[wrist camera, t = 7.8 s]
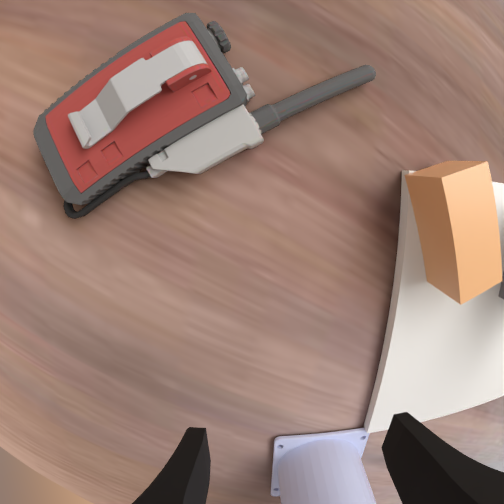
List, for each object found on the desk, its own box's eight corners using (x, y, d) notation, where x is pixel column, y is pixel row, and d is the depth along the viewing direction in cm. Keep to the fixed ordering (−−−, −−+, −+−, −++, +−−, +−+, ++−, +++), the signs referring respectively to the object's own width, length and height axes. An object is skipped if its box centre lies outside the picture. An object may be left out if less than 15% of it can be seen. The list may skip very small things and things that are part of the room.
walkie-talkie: (96, 243, 19) (374, 91, 17) (62, 262, 15) (406, 73, 12) (42, 134, 17) (303, -16, 15) (1, 130, 13) (315, -52, 11)
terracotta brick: (466, 262, 18) (502, 280, 14) (427, 281, 18) (460, 304, 14) (447, 160, 16) (487, 161, 13) (404, 175, 17) (441, 177, 13)
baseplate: (503, 388, 23) (508, 393, 22) (363, 425, 22) (366, 433, 21) (549, 193, 18) (557, 194, 17) (401, 170, 18) (409, 170, 17)
